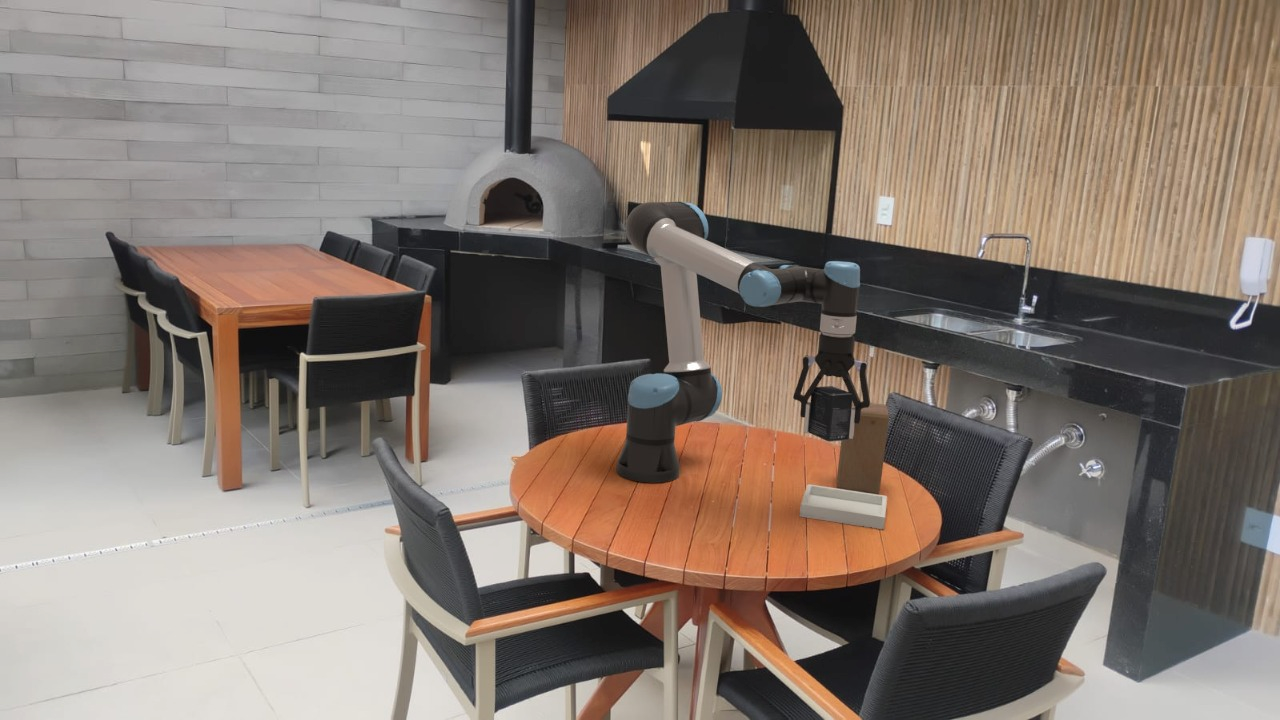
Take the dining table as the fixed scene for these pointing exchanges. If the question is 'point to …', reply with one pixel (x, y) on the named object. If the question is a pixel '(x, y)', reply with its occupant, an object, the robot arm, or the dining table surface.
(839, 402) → the box
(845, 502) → the tray
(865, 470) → the wooden block
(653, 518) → the dining table surface
